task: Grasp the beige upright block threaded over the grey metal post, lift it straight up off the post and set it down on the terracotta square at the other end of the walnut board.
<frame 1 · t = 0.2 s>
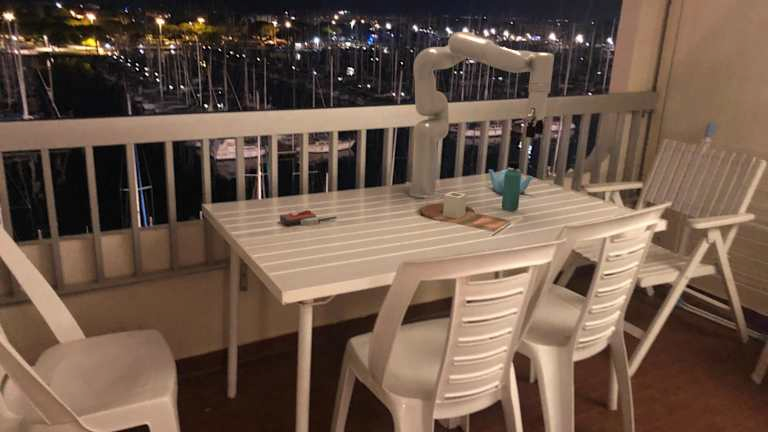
hand: (534, 135, 221), 31 cm above the table, fingers open, 9 cm apart
beige upright block: (454, 215, 223), point 1 cm above the table, touching board
teapot: (508, 192, 265), on the table
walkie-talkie: (307, 223, 214), on the table
board: (471, 223, 220), on the table
beverage bottle: (509, 212, 234), on the table
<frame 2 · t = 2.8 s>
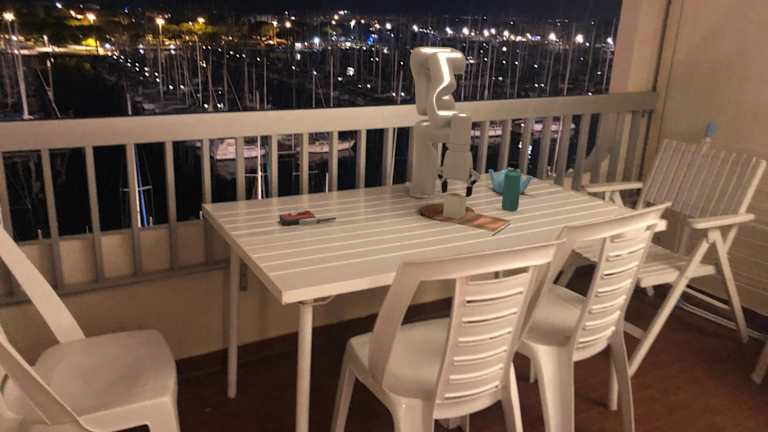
hand: (456, 194, 220), 10 cm above the table, fingers open, 9 cm apart
nothing on the table moved.
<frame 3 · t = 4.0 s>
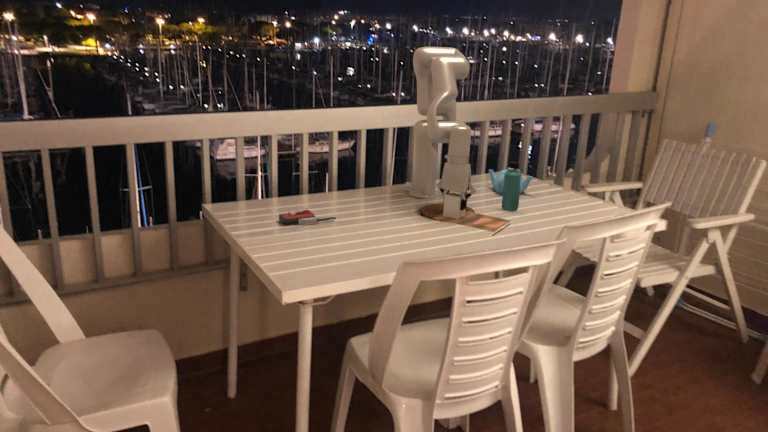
hand: (454, 207, 222), 5 cm above the table, fingers closed on beige upright block, 6 cm apart
beige upright block: (454, 215, 223), point 2 cm above the table, touching board, gripper
everything else where it was.
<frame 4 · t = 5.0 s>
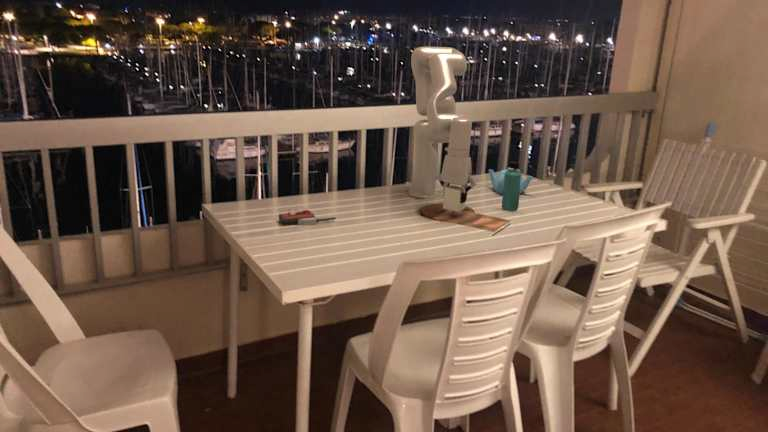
hand: (454, 200, 221), 7 cm above the table, fingers closed on beige upright block, 6 cm apart
beige upright block: (454, 208, 222), point 4 cm above the table, touching gripper
everything else where it was.
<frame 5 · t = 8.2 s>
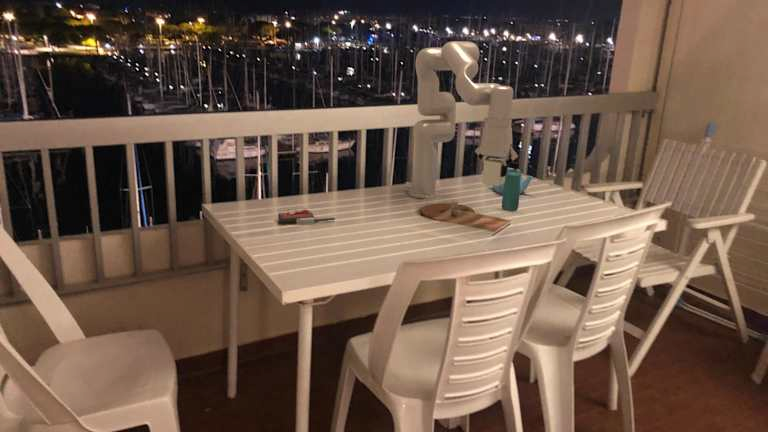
hand: (494, 174, 210), 19 cm above the table, fingers closed on beige upright block, 6 cm apart
beige upright block: (493, 182, 211), point 16 cm above the table, touching gripper
when the fingers open (6 cm above the table, at t = 10.9 s): beige upright block drops 2 cm, resting on board.
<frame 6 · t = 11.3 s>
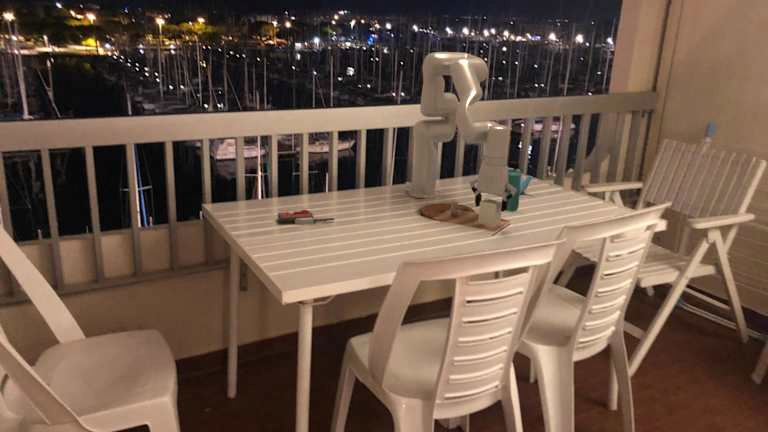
hand: (490, 208, 214), 7 cm above the table, fingers open, 9 cm apart
beige upright block: (489, 222, 216), point 2 cm above the table, touching board
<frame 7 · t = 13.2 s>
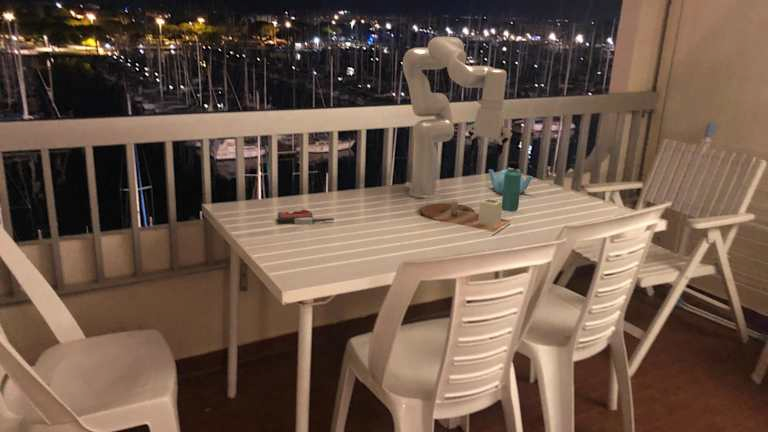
hand: (486, 152, 218), 25 cm above the table, fingers open, 9 cm apart
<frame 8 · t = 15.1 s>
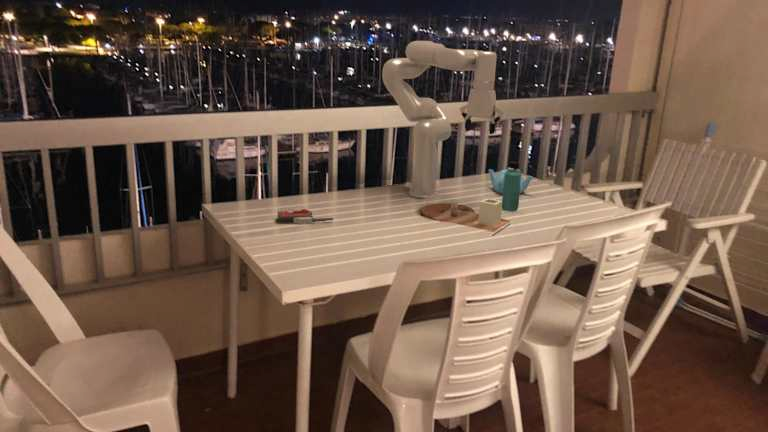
hand: (479, 132, 228), 30 cm above the table, fingers open, 9 cm apart
at the end: beige upright block 0.0 cm from the target spot on the board, point 1.6 cm above the board's base; beige upright block tilted 0°; the gripper is holding nothing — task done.
